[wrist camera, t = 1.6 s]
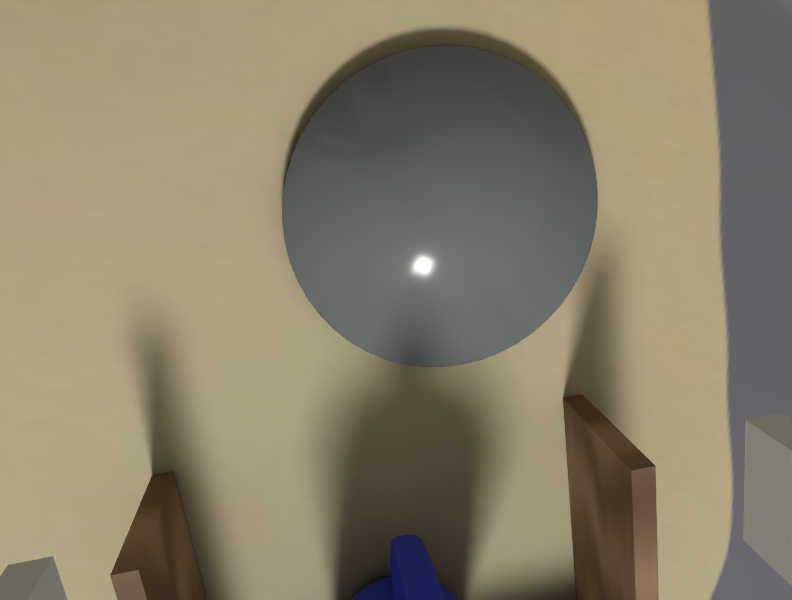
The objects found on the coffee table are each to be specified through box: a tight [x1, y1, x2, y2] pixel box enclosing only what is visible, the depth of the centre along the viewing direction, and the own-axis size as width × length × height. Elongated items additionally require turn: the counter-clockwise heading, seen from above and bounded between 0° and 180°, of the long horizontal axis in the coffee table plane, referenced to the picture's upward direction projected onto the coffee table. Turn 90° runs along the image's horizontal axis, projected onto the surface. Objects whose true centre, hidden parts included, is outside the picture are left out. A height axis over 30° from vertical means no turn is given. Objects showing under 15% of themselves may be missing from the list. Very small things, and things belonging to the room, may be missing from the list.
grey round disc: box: [282, 45, 598, 367], centre depth 29 cm, size 14×14×1 cm
